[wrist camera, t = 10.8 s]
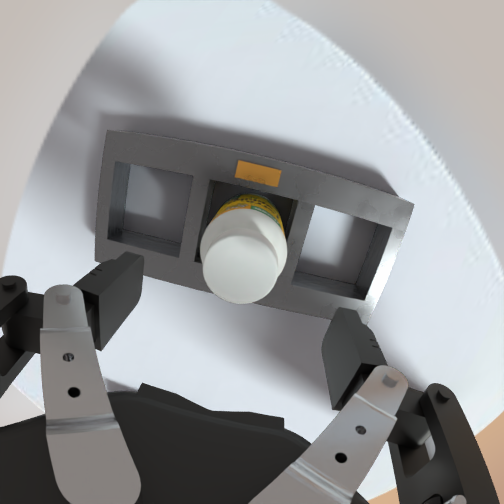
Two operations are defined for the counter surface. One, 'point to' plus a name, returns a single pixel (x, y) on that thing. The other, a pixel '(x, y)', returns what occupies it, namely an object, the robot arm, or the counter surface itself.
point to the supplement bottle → (244, 249)
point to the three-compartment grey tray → (259, 178)
